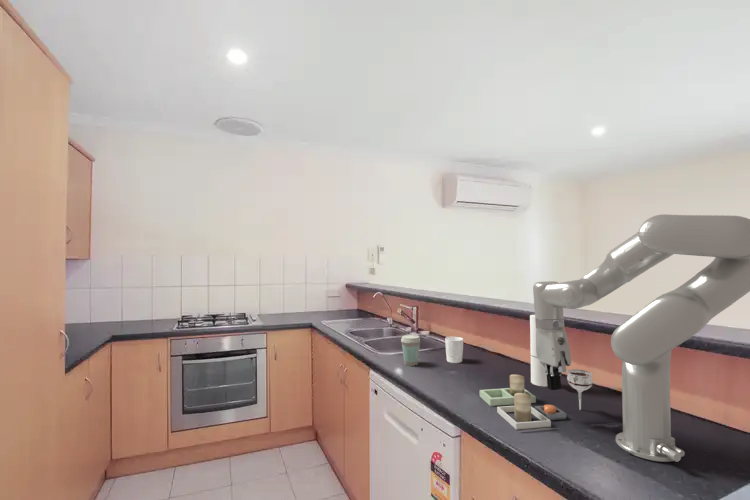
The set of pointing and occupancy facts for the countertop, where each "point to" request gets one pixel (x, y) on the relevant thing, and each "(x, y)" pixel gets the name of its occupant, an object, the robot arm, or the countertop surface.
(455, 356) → the white cup
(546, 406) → the button
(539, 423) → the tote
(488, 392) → the pale green flat tray
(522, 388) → the cylinder
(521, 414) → the cylinder
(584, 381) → the wineglass
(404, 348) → the coffee cup
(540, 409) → the button housing
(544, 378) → the cylindrical container
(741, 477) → the countertop surface
